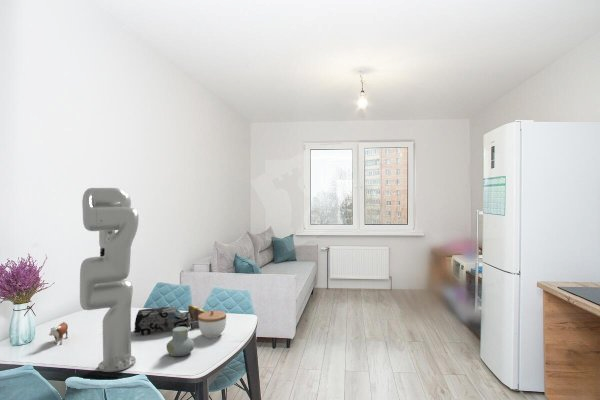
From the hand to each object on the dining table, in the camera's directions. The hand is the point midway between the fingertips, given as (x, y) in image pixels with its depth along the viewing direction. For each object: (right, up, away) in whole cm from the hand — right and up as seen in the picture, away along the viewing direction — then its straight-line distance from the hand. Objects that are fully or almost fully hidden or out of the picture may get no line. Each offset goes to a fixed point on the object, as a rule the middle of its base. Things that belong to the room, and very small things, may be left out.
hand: (107, 260), depth 174 cm
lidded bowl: (+48, -34, 0) cm, 59 cm away
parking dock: (+33, -34, +17) cm, 51 cm away
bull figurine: (-17, -35, -7) cm, 39 cm away
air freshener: (+40, -34, -21) cm, 57 cm away
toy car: (+23, -34, +7) cm, 42 cm away
